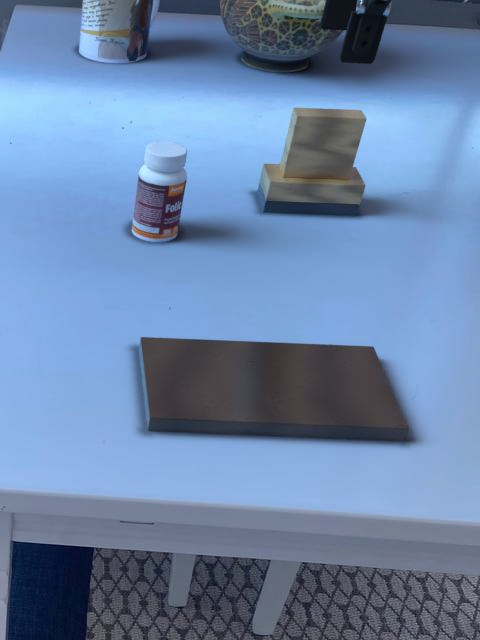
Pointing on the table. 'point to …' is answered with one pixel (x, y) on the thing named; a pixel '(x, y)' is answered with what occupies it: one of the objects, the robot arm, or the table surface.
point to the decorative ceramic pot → (277, 31)
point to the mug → (116, 29)
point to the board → (268, 389)
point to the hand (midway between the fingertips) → (345, 45)
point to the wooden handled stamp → (316, 165)
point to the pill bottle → (160, 192)
